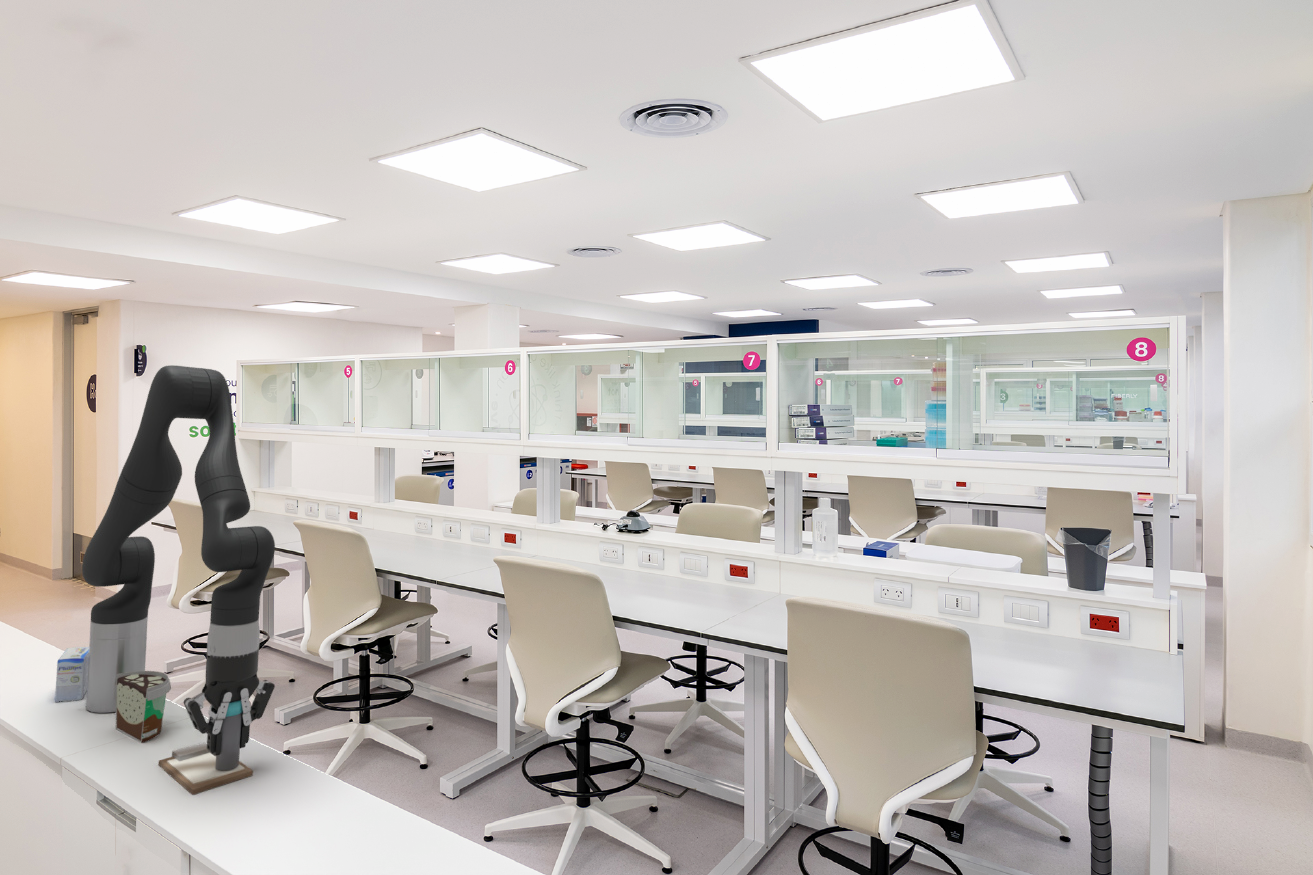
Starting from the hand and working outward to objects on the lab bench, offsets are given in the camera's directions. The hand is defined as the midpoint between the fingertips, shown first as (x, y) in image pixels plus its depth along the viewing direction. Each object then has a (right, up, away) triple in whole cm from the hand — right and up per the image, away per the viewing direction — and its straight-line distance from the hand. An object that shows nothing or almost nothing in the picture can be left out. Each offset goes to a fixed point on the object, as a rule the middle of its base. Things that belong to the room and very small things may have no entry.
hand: (227, 749), depth 123 cm
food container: (-23, -2, +14) cm, 27 cm away
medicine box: (-48, -1, +28) cm, 55 cm away
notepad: (-4, -4, +1) cm, 5 cm away
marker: (0, -3, 0) cm, 3 cm away
